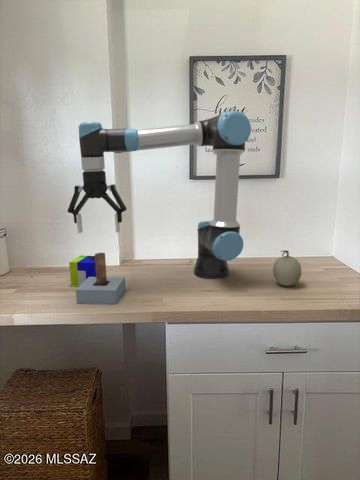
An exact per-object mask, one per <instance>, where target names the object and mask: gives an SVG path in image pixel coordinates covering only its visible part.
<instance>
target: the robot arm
mask: <svg viewBox="0 0 360 480" xmlns="http://www.w3.org/2000/svg"><path fill="white" fill-rule="evenodd" d="M251 132H252V126H251V122H250V120H249V118H248V117H247V115H245V114H244V112H241V111H240V110H239V111H238V110H231V111H229V110H228V111H226V112H223V113H221V114H217V115H216V116H213V117H210V118H207V119H204V120H197V121H195V123H193V124H192V123H191V124H183V125H182V124H181V125H173V126H172V125H171V126H163V127H154V128H145V129H144V128H142V129H136V128H128V127H127V128H103V126H102V123H100V122H97V121H88V122H87V121H86V122H81V123H80V124H78V139H79V140H78V141H79V149H80V159H81V160H80V161H81V170H82V171H83V172H82V181H83V185H80V184H77V185H75V186H74V189H73V190H74V192H73V196H72V198H71V200H70V203H69V205H68V208H67V213H70V214H72V215H73V222H74V224H76V227H77V234H81V233H83V222H82V213H80V211H81V210H82V208H83V207H84V206H85V204H86V203H87V202H88V200H89V199H103V200H104V201H106V203H107V204H108V205H109V206H110V207H111V208H112V209H113V210H114V211H115V213H114V223H115V233H120V232H121V225H120V223H122V221H123V214H122V213H123V212H126V211H127V206H126V205H125V203H124V201H123V199H122V198H121V195H120V194H119V192H118V190H117V186H116V184H115V183H113V184H109V185H108V184H107V177H106V171H105V169H106V167H105V155H104V154H105V153H115V154H122V153H131V152H137V151H145V150H156V149H162V148H163V149H165V148H172V147H173V148H174V147H182V146H184V147H185V146H190V145H191V146H193V145H196V146H197V147H212V152H213V153H214V154H215V156H216V163H215V183H214V185H215V186H214V201H213V202H214V204H213V205H214V206H213V207H214V208H213V219H212V220H204V221H200V222H198V224H197V258H196V261H195V265H194V268H193V274H194V275H195V276H197V277H198V278H202V279H208V280H209V279H211V280H213V279H222V278H225V277H228V276H229V275H230V268H229V264H228V261H232V260H235V259H236V258H238V256H240V254H241V253H242V251H243V249H244V239H243V237H242V235H240V232H241V231H240V230H241V225H240V223H239V222H238V221H237V215H238V211H237V210H238V197H239V195H238V194H239V176H240V163H241V162H240V161H241V156H242V154H244V153H245V151H246V149H245V148H246V142H247V140H249V138H250V135H251ZM82 191H83V192H84V193H85V194H84V195H83V196H82V198H81V200H80V201H79V203H78V200H79V197H80V195H81V192H82ZM107 191H109V192H111V194H112V196H113V198H114V200H115V201H116V202H115V201H114V200H113V199H112V198H111V197H110V195H109V194H108V193H107ZM77 203H78V204H77Z"/></svg>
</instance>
